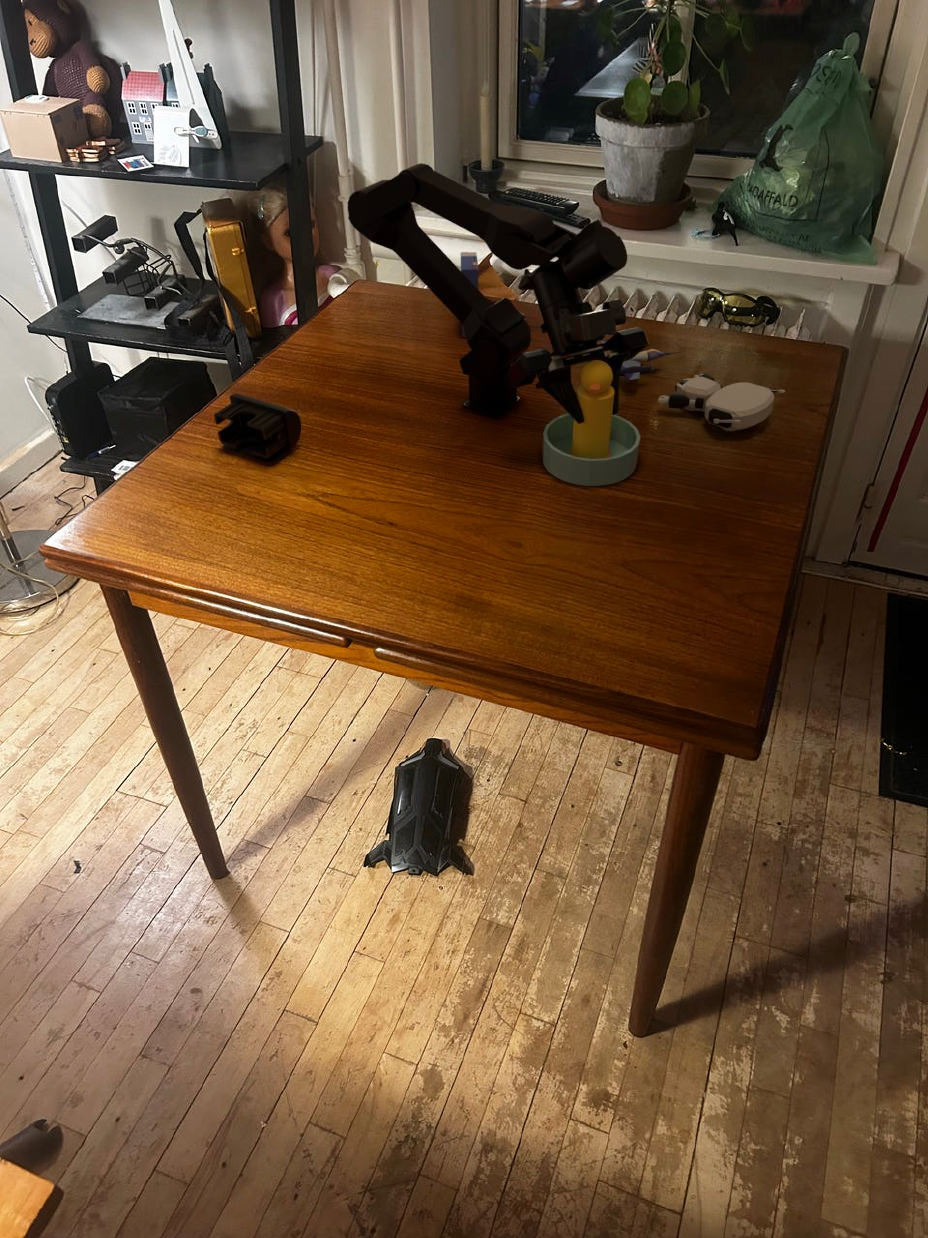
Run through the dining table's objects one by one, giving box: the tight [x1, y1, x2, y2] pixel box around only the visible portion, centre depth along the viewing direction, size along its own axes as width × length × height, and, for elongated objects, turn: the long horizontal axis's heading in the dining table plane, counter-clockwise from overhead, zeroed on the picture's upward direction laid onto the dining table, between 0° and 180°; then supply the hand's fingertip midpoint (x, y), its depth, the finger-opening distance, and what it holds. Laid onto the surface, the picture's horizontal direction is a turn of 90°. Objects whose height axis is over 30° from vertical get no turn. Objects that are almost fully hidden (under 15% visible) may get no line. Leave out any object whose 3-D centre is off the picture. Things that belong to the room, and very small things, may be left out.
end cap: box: [213, 393, 302, 467], centre depth 130 cm, size 10×7×7 cm
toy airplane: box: [585, 339, 682, 382], centre depth 147 cm, size 13×14×4 cm
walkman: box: [460, 251, 479, 338], centre depth 158 cm, size 8×3×12 cm, turn 1°
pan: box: [541, 413, 641, 487], centre depth 127 cm, size 13×13×4 cm
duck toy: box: [569, 360, 614, 459], centre depth 123 cm, size 6×6×14 cm
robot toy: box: [657, 373, 786, 432], centre depth 136 cm, size 12×4×15 cm
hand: (598, 418), depth 123 cm, fingers closed on duck toy, 5 cm apart
